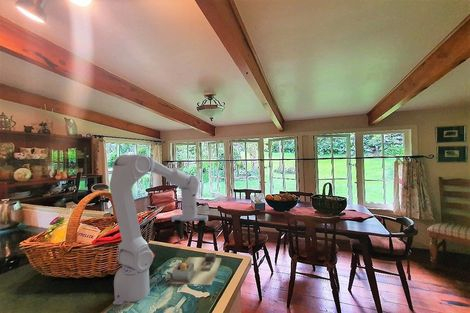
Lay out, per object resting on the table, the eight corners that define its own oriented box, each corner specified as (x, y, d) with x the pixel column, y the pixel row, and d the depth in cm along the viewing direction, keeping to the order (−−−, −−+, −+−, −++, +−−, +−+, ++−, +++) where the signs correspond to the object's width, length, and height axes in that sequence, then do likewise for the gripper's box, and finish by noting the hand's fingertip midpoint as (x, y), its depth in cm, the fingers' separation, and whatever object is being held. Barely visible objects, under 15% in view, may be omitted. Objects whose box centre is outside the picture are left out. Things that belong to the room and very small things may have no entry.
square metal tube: (172, 279, 74) (172, 271, 74) (179, 270, 80) (178, 262, 80) (188, 280, 73) (188, 271, 73) (194, 271, 79) (193, 263, 79)
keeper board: (170, 286, 73) (169, 276, 73) (188, 259, 91) (188, 251, 91) (211, 287, 71) (211, 277, 71) (222, 260, 89) (221, 252, 89)
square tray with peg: (171, 281, 74) (170, 267, 74) (178, 271, 80) (177, 258, 80) (189, 282, 73) (188, 268, 73) (195, 271, 79) (194, 259, 79)
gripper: (209, 202, 91) (210, 235, 91) (175, 203, 93) (177, 234, 93) (204, 207, 84) (206, 242, 84) (168, 207, 86) (170, 241, 86)
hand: (190, 238), depth 88 cm, fingers open, 7 cm apart
